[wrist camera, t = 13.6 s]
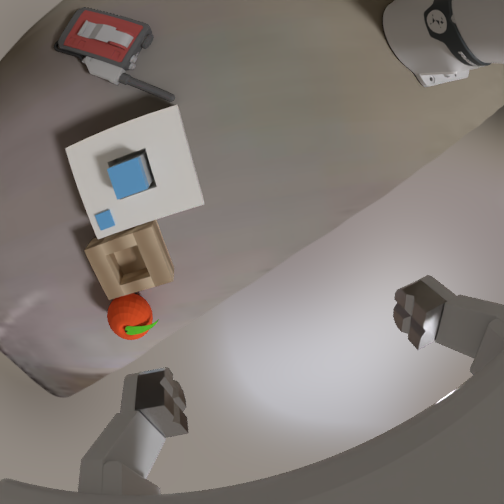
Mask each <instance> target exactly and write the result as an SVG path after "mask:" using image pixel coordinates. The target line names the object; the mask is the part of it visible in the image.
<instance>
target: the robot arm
mask: <svg viewBox="0 0 504 504" xmlns="http://www.w3.org/2000/svg"><path fill="white" fill-rule="evenodd" d="M383 27H384V32H385V35H386V38H387V40H388V43H389V45H390V47H391V48H392V50H393V52H394V53H395V55H396V56H397V57H398V59H399V60H400V61H401V62H402V63H403V64H404V65H405V66H406V67H408V68H409V69H410V70H411V71H412V72H413V73H414V74H415V75H416V77H417V78H418V80H419V82H420V83H421V84H422V85H423V86H424V87H428V86H433V85H437V84H441V83H445V82H450V81H454V80H459V79H463V78H467V77H468V74H469V70H470V69H477V68H479V67H482V66H487V65H490V64H491V63H503V64H504V0H394V1H393V2H392V3H391V4H389V5H388V6H387V7H386V9H385V11H384V14H383ZM395 300H396V301H397V304H396V306H395V307H394V312H393V313H394V314H393V317H394V320H395V323H396V325H397V327H398V328H399V329H400V331H401V332H404V333H408V339H409V341H410V342H411V343H412V344H413V345H414V346H415V347H416V349H417V350H419V349H421V348H423V347H425V346H427V345H429V344H430V343H432V342H434V341H435V342H437V343H439V344H441V345H444V346H446V347H448V348H451V349H453V350H455V351H458V352H460V353H463V354H465V355H468V356H470V357H472V358H474V361H473V363H472V365H471V368H470V372H471V373H472V374H473V376H472V377H471V378H469V379H468V380H467V381H466V382H464V383H463V384H462V385H460V386H459V387H458V388H456V389H455V390H454V391H452V392H451V393H449V394H448V395H447V396H445V397H443V398H442V399H440V400H439V401H438V402H436V403H434V404H433V405H431V406H430V407H429V408H427V409H425V410H424V411H422V412H420V413H419V414H417V415H416V416H414V417H412V418H411V419H409V420H407V421H405V422H403V423H402V424H400V425H398V426H396V427H394V428H392V429H391V430H389V431H387V432H385V433H383V434H381V435H379V436H377V437H375V438H373V439H371V440H369V441H367V442H365V443H362V444H360V445H358V446H356V447H354V448H351V449H349V450H347V451H344V452H342V453H340V454H337V455H335V456H332V457H329V458H327V459H324V460H322V461H319V462H316V463H313V464H310V465H308V466H305V467H302V468H299V469H296V470H292V471H289V472H286V473H282V474H279V475H275V476H272V477H268V478H264V479H260V480H256V481H252V482H247V483H243V484H238V485H233V486H227V487H222V488H216V489H209V490H202V491H195V492H186V493H175V494H163V495H162V494H161V491H160V488H159V487H158V486H157V485H155V484H153V483H151V482H150V481H148V480H147V479H146V478H147V476H148V474H149V472H150V470H151V468H152V466H153V464H154V462H155V460H156V458H157V456H158V454H159V452H160V450H161V448H162V446H163V444H164V442H165V439H166V437H172V436H177V435H182V434H187V433H188V423H187V417H186V416H185V414H184V413H183V411H184V410H185V408H186V400H185V396H184V392H183V390H182V388H181V386H180V384H179V383H178V382H177V381H175V380H173V374H172V372H171V371H170V369H169V368H167V367H165V368H160V369H155V370H150V371H144V372H140V373H135V374H129V375H127V376H126V377H125V379H124V387H123V393H122V401H121V410H120V413H117V414H116V415H115V416H114V417H113V419H112V420H111V422H110V423H109V424H108V425H107V427H106V428H105V429H104V431H103V432H102V433H101V435H100V436H99V437H98V438H97V440H96V441H95V442H94V444H93V445H92V446H91V448H90V449H89V450H88V452H87V453H86V454H85V456H84V457H83V458H82V459H81V466H80V476H79V488H78V492H72V491H65V490H58V489H52V488H47V487H42V486H37V485H32V484H28V483H23V482H19V481H16V480H12V479H2V480H1V481H0V504H504V305H502V304H498V303H494V302H489V301H484V300H480V299H476V298H472V297H468V296H463V295H458V296H456V295H455V294H454V293H452V292H451V291H450V290H449V289H447V288H446V287H445V286H444V285H442V284H441V283H440V282H438V281H437V280H436V279H435V278H433V277H432V276H429V275H427V276H425V277H423V278H421V279H419V280H418V281H415V282H413V283H411V284H409V285H407V286H404V287H402V288H400V289H398V290H397V291H396V293H395Z"/></svg>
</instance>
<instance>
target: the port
mask: <svg viewBox="0 0 504 504" xmlns="http://www.w3.org/2000/svg"><path fill="white" fill-rule="evenodd" d="M65 150H66V153H67V156H68V160H69V163H70V166H71V169H72V172H73V175H74V178H75V181H76V184H77V187H78V190H79V193H80V196H81V198H82V201H83V204H84V206H85V209H86V212H87V214H88V217H89V219H90V222H91V224H92V227H93V229H94V232H95V234H96V237H97V239H101V238H104V237H106V236H109V235H112V234H115V233H118V232H120V231H123V230H126V229H129V228H132V227H135V226H138V225H141V224H144V223H147V222H150V221H153V220H156V219H159V218H162V217H165V216H168V215H171V214H174V213H178V212H181V211H184V210H187V209H191V208H194V207H197V206H200V205H204V199H203V194H202V190H201V187H200V183H199V180H198V176H197V173H196V169H195V166H194V162H193V159H192V155H191V151H190V148H189V144H188V140H187V137H186V133H185V129H184V125H183V122H182V118H181V114H180V110H179V107H178V105H175V106H171V107H168V108H165V109H162V110H159V111H155V112H152V113H149V114H147V115H144V116H141V117H138V118H135V119H133V120H130V121H127V122H125V123H122V124H119V125H117V126H114V127H112V128H109V129H107V130H104V131H102V132H100V133H97V134H95V135H93V136H91V137H88V138H86V139H84V140H82V141H80V142H77V143H75V144H73V145H71V146H69V147H67V148H65ZM145 152H146V153H147V156H148V159H149V163H150V166H151V169H152V173H153V176H154V180H153V181H152V183H151V184H150V186H149V187H148V189H146V190H143V191H140V192H138V193H135V194H132V195H129V196H126V197H124V198H121V199H118V200H117V198H116V195H115V192H114V189H113V186H112V183H111V180H110V177H109V174H108V171H107V169H108V168H110V167H112V166H113V165H115V164H117V163H119V162H121V161H123V160H125V159H128V158H131V157H134V156H136V155H139V154H142V153H145Z"/></svg>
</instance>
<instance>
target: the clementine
mask: <svg viewBox="0 0 504 504" xmlns="http://www.w3.org/2000/svg"><path fill="white" fill-rule="evenodd" d="M107 318H108V322H109V325H110V327H111V329H112V330H113V331H114V333H115V334H117V335H118V336H119V337H121V338H123V339H127V340H134V339H138V338H141V337H142V336H144V335H145V334H146V333H147V332H148V331H149V329H151V328H152V327H153V326H154V325H155V324H156V323H157V321H158V320H159V319H158V320H157V321H156V322H155V323H153V324H152V320H153V318H152V310H151V308H150V306H149V304H148V303H147V301H146V300H145V299H144V298H143V297H141V296H139V295H137V294H134V293H131V294H128V295H125V296H121V297H118V298H115V299H114V300H112V302H111V304H110V306H109V308H108V314H107Z"/></svg>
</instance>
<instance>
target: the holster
mask: <svg viewBox="0 0 504 504" xmlns="http://www.w3.org/2000/svg"><path fill="white" fill-rule="evenodd" d="M84 251H85V253H86V255H87V258H88V260H89V262H90V264H91V266H92V268H93V270H94V272H95V274H96V276H97V278H98V280H99V282H100V284H101V286H102V288H103V290H104V292H105V294H106V296H107V298H108V299H109V300H111V299H114V298H118V297H121V296H125V295H128V294H131V293H135V292H138V291H142V290H145V289H148V288H152V287H155V286H159V285H162V284H165V283H169V282H172V281H173V277H174V266H173V263H172V261H171V258H170V255H169V253H168V250H167V247H166V245H165V242H164V239H163V237H162V234H161V231H160V229H159V226H158V223H157V220H153V221H150V222H147V223H144V224H141V225H138V226H135V227H132V228H129V229H126V230H123V231H120V232H118V233H115V234H112V235H109V236H106V237H104V238H101V239H97V237H96V238H93V239H92V240H91V242H90V243H89V244H88V246H87V247H86V249H85V250H84Z"/></svg>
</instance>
